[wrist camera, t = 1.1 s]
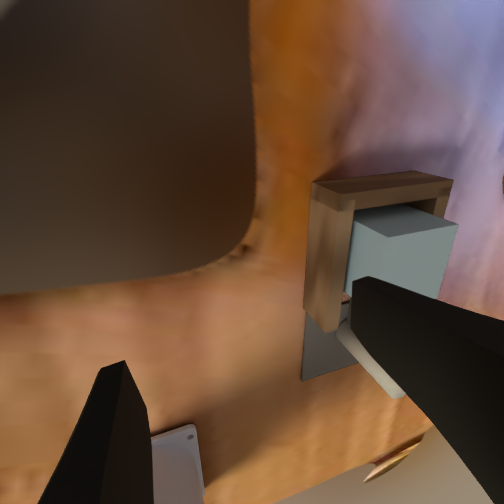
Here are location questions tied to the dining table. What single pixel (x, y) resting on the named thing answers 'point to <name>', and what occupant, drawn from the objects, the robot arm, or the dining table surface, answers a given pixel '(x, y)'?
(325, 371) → the mat
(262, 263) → the dining table surface
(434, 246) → the pull block
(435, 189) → the wooden arch frame
